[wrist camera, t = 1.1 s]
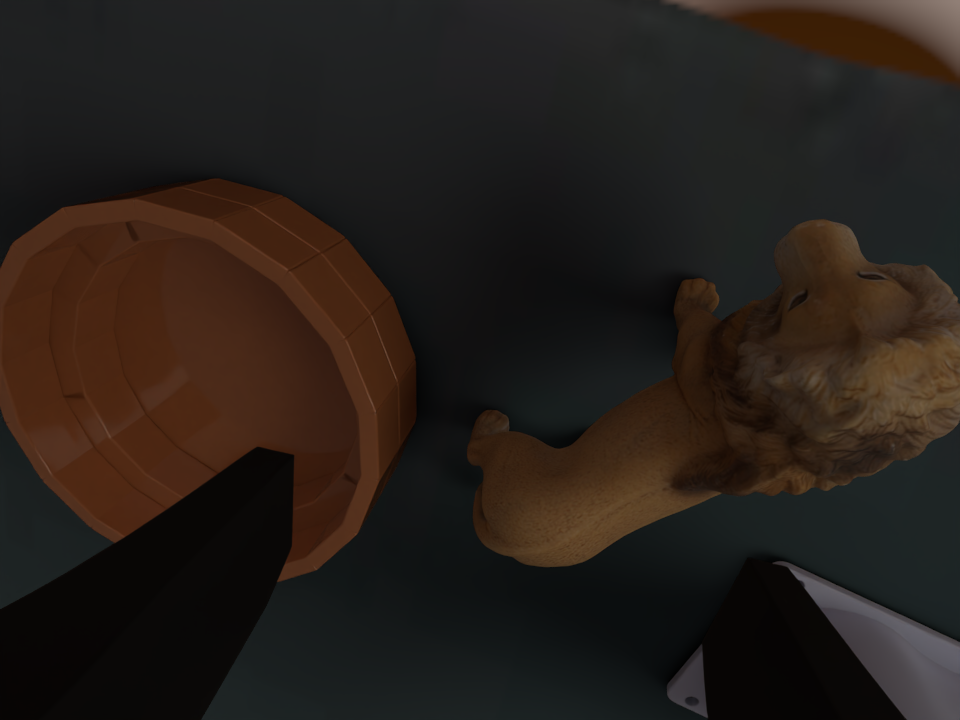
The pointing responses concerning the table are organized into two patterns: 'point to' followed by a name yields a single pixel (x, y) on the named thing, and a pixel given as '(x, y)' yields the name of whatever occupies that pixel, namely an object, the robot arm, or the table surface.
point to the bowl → (202, 357)
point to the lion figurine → (741, 405)
